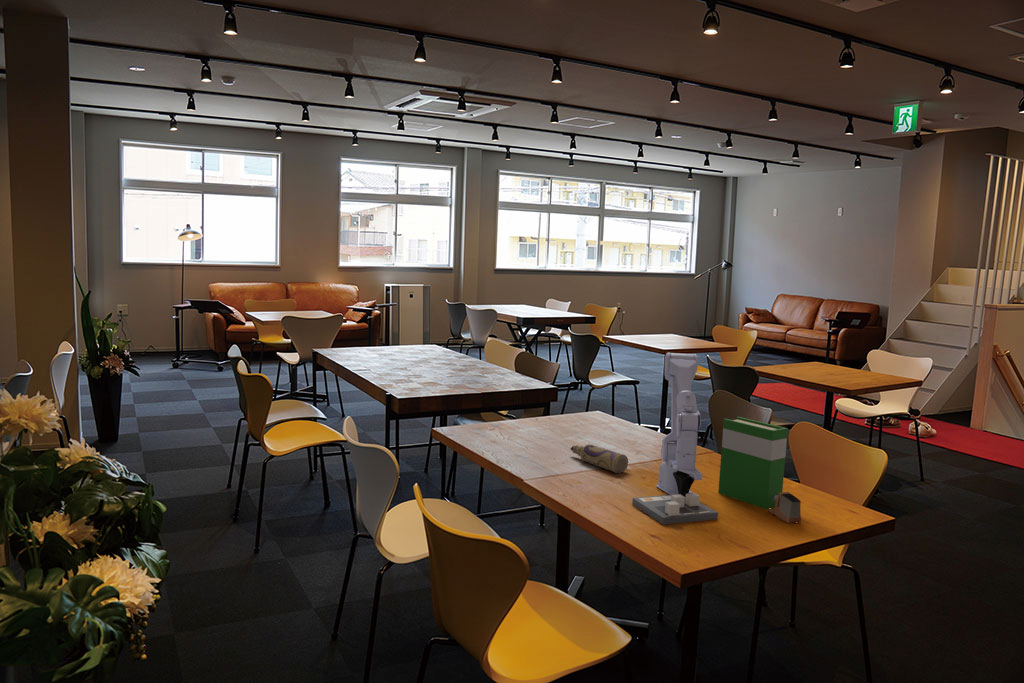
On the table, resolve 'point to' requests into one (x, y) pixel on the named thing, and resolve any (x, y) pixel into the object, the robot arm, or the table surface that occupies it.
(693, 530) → the table surface
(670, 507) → the tab
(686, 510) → the switch board
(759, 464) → the hardback book
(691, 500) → the tab
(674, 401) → the robot arm
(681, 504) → the tab middle
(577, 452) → the decorative bottle
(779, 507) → the electronic device
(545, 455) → the table surface
